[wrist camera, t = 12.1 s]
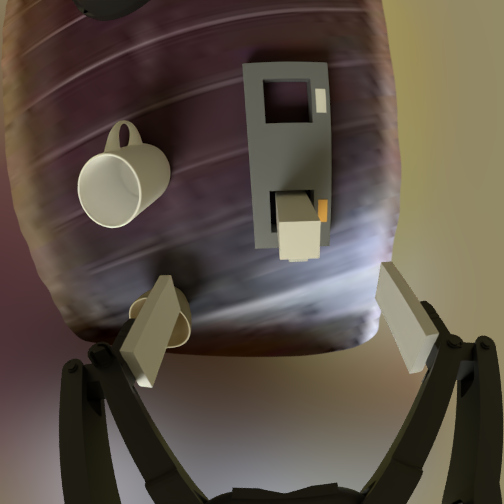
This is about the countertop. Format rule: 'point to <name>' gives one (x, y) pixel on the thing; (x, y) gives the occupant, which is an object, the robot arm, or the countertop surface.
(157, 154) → the mug
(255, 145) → the panel
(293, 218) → the plug
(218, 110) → the countertop surface
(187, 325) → the flower pot
